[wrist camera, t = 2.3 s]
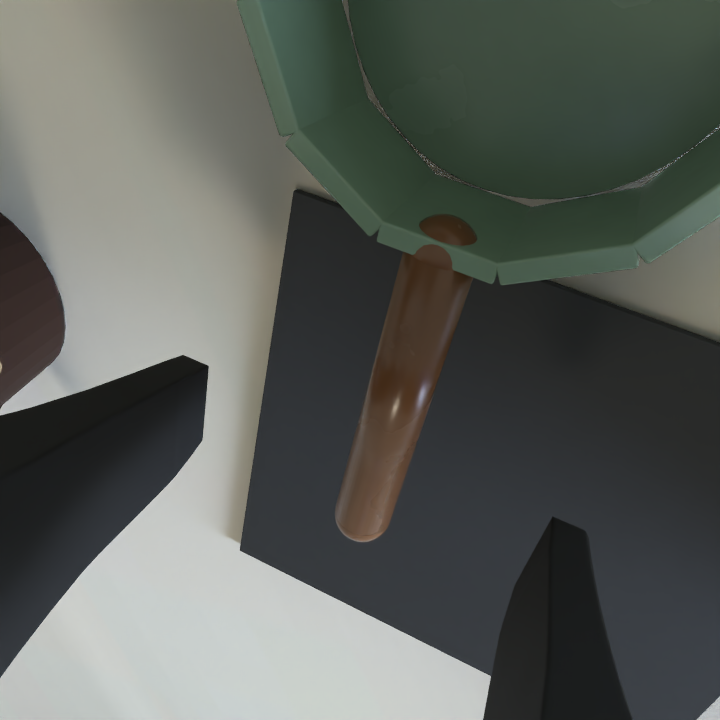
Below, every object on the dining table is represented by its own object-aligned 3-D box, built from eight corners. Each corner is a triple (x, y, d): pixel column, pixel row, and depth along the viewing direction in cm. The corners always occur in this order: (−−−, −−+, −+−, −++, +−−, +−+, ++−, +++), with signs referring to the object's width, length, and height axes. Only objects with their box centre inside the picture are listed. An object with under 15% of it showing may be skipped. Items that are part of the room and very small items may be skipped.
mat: (973, 434, 13) (977, 440, 13) (657, 753, 21) (656, 759, 20) (297, 188, 16) (293, 190, 16) (242, 546, 24) (239, 550, 24)
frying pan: (548, 508, 18) (519, 633, 14) (274, 388, 19) (192, 476, 16) (1056, -430, 8) (1319, -703, 5) (418, -504, 10) (286, -740, 6)
